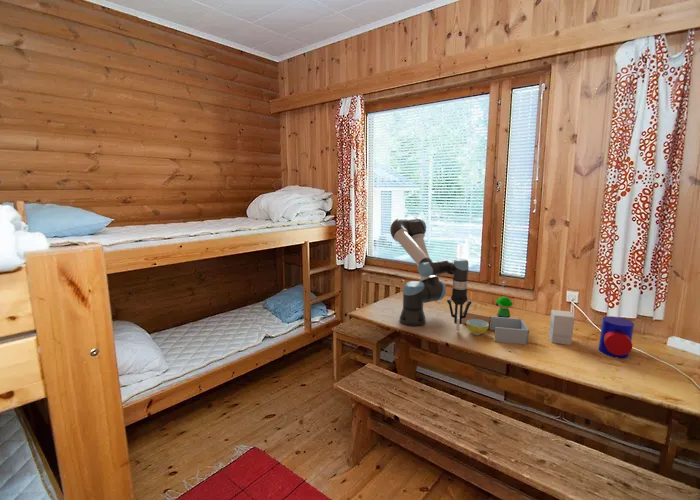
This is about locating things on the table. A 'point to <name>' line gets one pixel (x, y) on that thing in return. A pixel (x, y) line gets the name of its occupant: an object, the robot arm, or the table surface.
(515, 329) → the box
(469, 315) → the door
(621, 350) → the cylinder
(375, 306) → the table surface
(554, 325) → the supplement box
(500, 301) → the toy
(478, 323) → the bowl
